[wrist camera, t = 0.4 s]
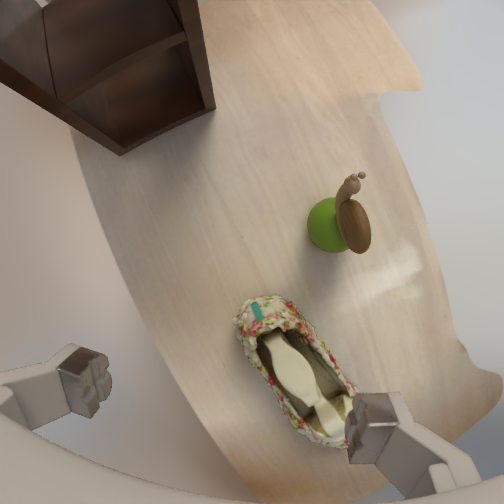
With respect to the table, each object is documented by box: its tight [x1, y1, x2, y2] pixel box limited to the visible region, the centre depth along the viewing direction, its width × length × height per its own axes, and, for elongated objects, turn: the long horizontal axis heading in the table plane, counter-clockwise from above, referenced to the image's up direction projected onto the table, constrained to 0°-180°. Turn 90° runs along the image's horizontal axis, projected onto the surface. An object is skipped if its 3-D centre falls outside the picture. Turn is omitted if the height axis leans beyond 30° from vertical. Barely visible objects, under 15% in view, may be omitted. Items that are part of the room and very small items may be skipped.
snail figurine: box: [307, 172, 371, 254], centre depth 27 cm, size 5×6×12 cm
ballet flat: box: [233, 295, 360, 449], centre depth 30 cm, size 9×25×8 cm, turn 38°
